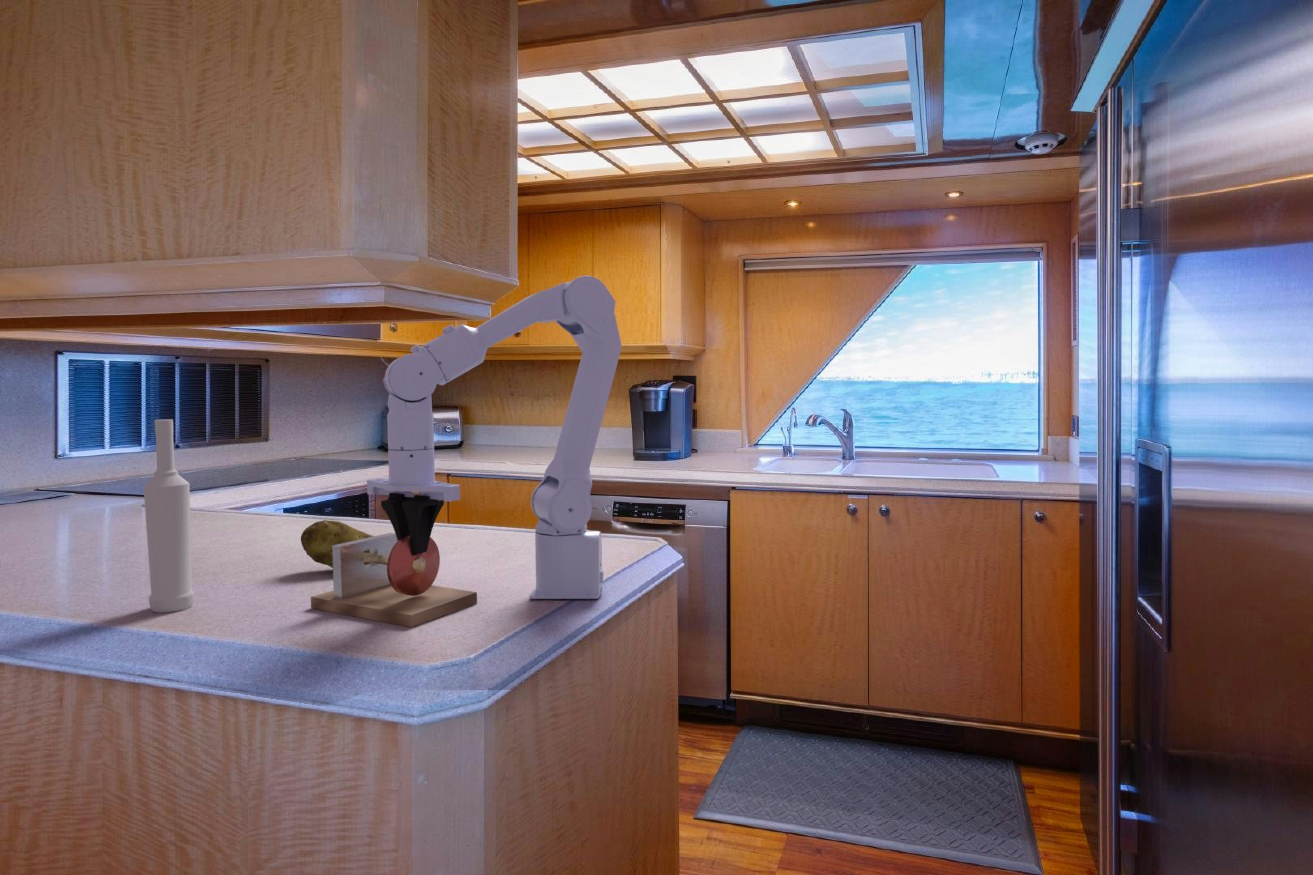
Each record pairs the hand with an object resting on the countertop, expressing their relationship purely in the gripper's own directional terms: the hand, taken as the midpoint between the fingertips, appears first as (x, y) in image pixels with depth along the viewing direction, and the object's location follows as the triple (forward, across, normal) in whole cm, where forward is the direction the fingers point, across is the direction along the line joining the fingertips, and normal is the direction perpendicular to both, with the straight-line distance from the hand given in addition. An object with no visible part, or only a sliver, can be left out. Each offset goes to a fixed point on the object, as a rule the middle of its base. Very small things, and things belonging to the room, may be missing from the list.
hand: (413, 552), depth 105 cm
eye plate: (+6, -9, 0) cm, 11 cm away
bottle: (+8, -29, -14) cm, 34 cm away
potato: (+8, -26, +11) cm, 29 cm away
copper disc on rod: (+6, -4, 0) cm, 7 cm away
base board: (+8, -4, 0) cm, 8 cm away
